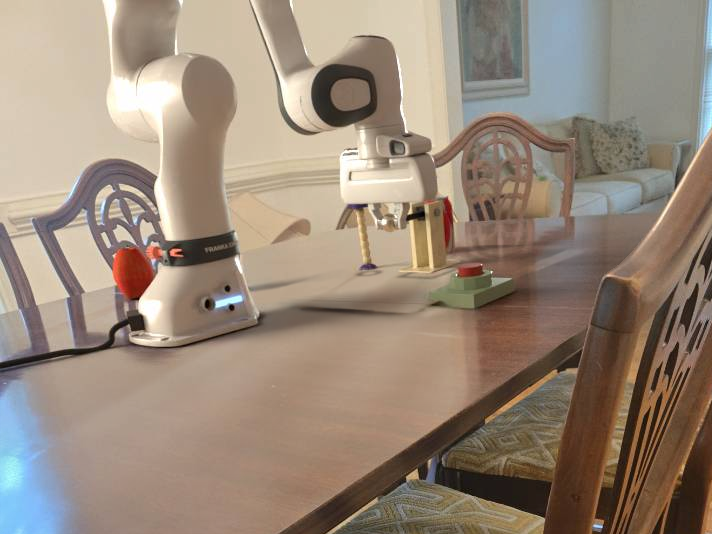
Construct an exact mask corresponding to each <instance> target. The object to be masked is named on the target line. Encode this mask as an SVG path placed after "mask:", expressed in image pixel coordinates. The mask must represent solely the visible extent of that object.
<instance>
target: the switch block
mask: <svg viewBox="0 0 712 534" xmlns="http://www.w3.org/2000/svg"><path fill="white" fill-rule="evenodd" d="M448 279H449V284H446V285H444V286H440V287H439V288H436V289H433V290H430V291H428V292H427V294H428V300H429V301H435V302H433V303H431V304H430V305H429V306H430V307H444V308H461V309H473V310H474V309H477V308H479V307H481V306H483V305H486V304H488V303H491V302H493V301H495V300H498V299H500V298H503V297H504V296H507V295H509V294H511V293H513V292H515V286H514V277H493V271H492V270H489V269H483V274H482V275H479V276H473V277H459V275H458V271H456V272H453V273H451V274H450V275H449V276H448Z"/></svg>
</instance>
